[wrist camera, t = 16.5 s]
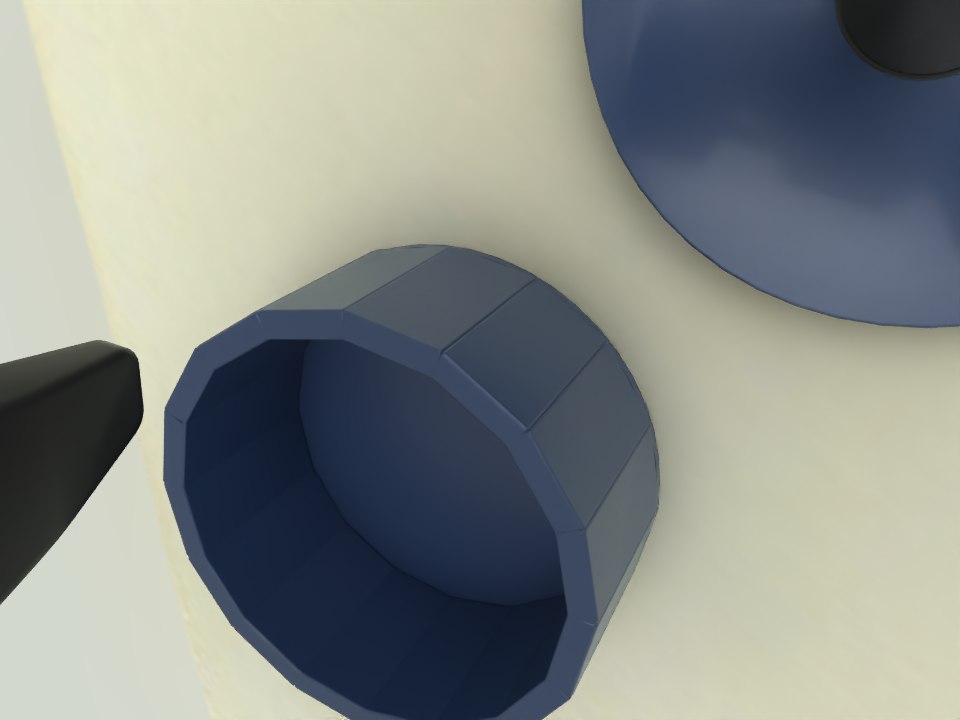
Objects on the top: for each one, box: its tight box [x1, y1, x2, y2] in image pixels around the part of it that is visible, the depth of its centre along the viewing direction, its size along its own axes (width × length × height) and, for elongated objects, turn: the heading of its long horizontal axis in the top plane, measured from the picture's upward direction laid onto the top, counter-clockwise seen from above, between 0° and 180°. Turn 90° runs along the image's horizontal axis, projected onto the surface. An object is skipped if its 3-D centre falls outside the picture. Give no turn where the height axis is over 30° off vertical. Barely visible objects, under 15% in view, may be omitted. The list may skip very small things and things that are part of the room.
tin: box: [163, 245, 659, 720], centre depth 23 cm, size 12×12×5 cm
